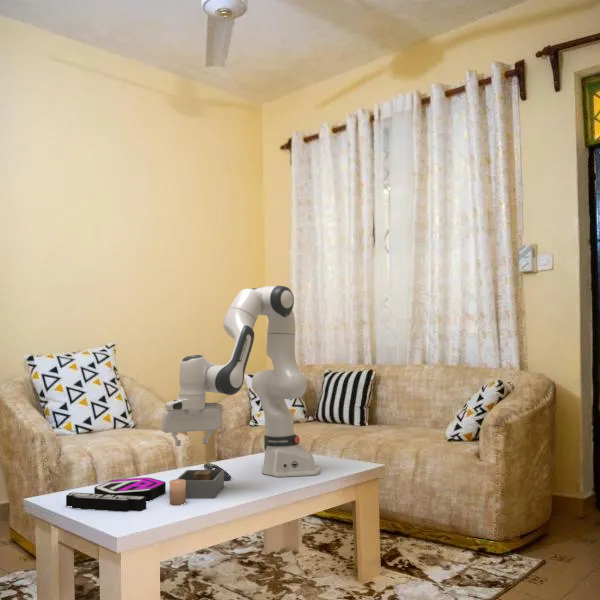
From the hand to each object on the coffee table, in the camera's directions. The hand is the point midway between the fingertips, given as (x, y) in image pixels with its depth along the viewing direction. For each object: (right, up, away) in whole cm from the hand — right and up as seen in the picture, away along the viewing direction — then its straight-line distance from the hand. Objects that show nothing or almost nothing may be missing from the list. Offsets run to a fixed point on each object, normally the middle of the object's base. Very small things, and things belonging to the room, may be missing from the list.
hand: (191, 444), depth 216 cm
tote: (+3, -16, +1) cm, 16 cm away
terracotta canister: (-2, -16, -13) cm, 20 cm away
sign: (-21, -17, -5) cm, 28 cm away
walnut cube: (+3, -16, +5) cm, 17 cm away
